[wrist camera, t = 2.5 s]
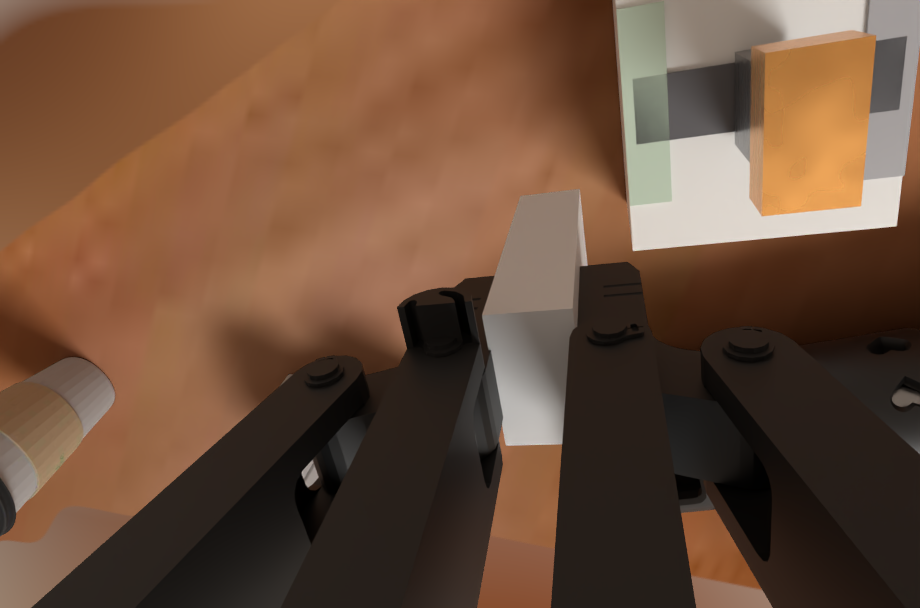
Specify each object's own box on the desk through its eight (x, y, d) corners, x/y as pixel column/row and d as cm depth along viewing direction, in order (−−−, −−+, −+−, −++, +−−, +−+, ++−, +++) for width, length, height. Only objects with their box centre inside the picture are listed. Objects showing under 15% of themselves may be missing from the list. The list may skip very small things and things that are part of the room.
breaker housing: (861, -101, 31) (939, -123, 24) (840, 178, 37) (898, 227, 30) (608, -49, 34) (611, -55, 27) (626, 202, 40) (633, 252, 33)
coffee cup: (118, 444, 59) (-19, 578, 46) (25, 391, 58) (-141, 512, 45) (146, 376, 55) (3, 503, 41) (45, 317, 54) (-133, 428, 41)
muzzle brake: (571, 346, 46) (564, 438, 37) (1046, 259, 37) (1190, 351, 28) (601, 451, 49) (602, 558, 40) (1041, 394, 41) (1167, 513, 32)
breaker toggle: (807, 19, 27) (876, 35, 20) (800, 153, 29) (861, 206, 22) (724, 33, 27) (765, 52, 21) (725, 162, 30) (761, 216, 23)
